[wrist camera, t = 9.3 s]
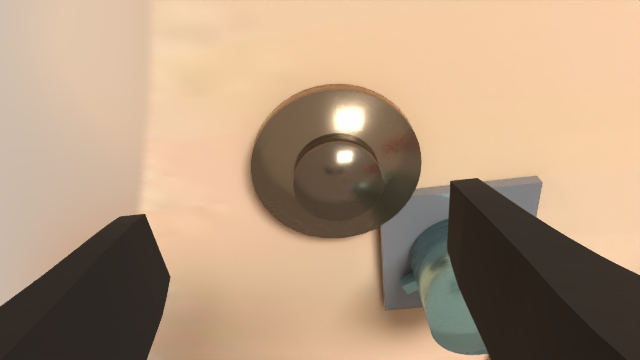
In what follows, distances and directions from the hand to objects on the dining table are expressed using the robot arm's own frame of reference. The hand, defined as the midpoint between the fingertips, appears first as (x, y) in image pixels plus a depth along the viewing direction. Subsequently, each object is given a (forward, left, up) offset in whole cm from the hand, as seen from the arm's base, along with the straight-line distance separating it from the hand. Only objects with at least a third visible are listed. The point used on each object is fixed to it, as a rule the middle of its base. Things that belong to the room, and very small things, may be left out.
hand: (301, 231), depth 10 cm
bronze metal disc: (-4, -1, -10) cm, 11 cm away
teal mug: (-10, -7, -10) cm, 15 cm away
